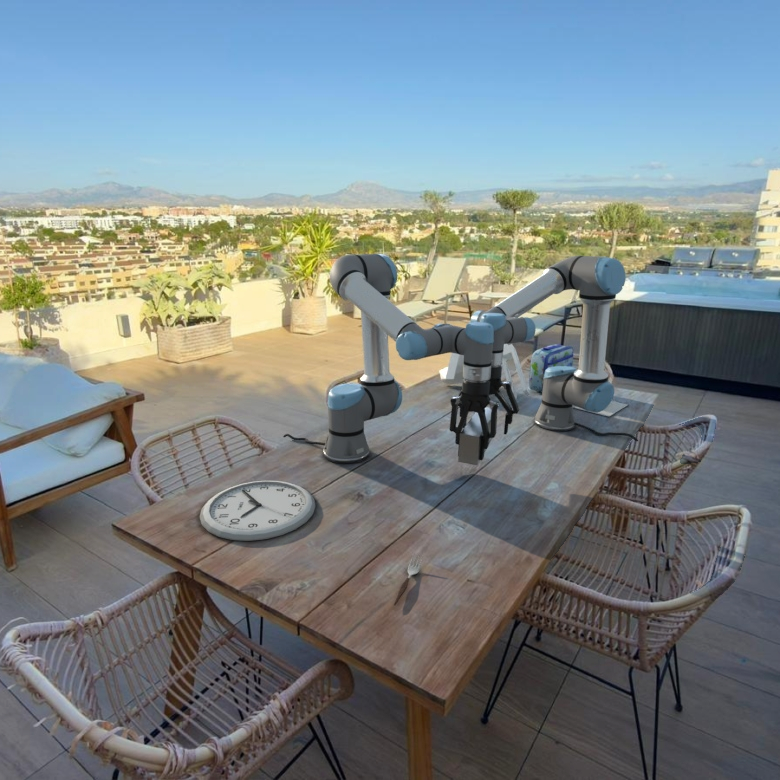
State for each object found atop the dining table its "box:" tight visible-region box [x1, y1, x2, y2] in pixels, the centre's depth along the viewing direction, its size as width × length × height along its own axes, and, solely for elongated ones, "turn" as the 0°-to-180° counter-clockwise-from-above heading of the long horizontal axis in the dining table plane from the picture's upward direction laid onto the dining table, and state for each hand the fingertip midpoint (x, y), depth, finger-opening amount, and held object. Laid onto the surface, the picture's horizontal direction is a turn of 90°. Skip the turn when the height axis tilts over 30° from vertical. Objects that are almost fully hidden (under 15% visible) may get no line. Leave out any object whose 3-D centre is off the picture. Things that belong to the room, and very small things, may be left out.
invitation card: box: [573, 400, 629, 418], centre depth 226 cm, size 21×1×15 cm
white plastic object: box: [438, 343, 531, 400], centre depth 245 cm, size 37×45×31 cm
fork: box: [393, 553, 424, 606], centre depth 112 cm, size 3×16×2 cm, turn 160°
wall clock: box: [199, 480, 316, 542], centre depth 140 cm, size 30×2×30 cm
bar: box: [457, 406, 493, 466], centre depth 157 cm, size 25×6×9 cm, turn 158°
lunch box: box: [528, 344, 574, 393], centre depth 247 cm, size 26×11×21 cm, turn 134°
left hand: (470, 456), depth 151 cm, fingers closed on bar, 6 cm apart
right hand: (484, 429), depth 166 cm, fingers open, 13 cm apart
